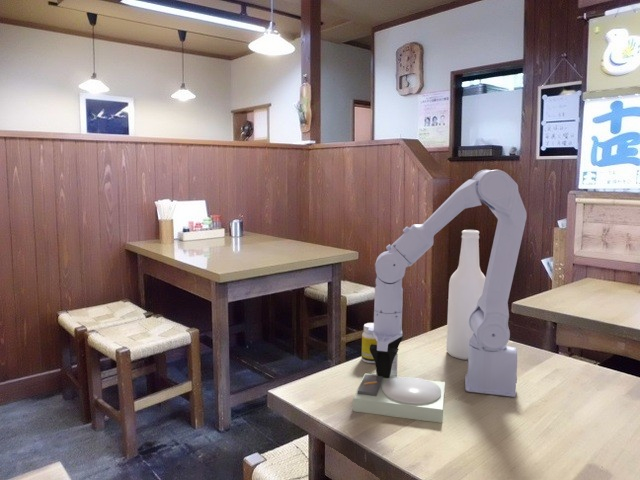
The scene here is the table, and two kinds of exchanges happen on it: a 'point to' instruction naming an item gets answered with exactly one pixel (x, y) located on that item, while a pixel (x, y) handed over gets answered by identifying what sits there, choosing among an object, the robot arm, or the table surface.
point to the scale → (400, 397)
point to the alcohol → (464, 295)
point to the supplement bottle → (368, 343)
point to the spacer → (394, 367)
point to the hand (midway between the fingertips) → (386, 373)
